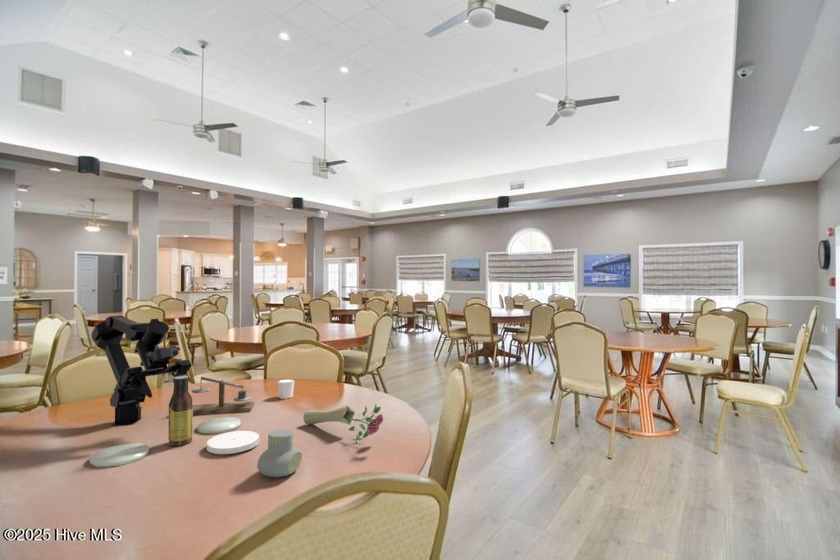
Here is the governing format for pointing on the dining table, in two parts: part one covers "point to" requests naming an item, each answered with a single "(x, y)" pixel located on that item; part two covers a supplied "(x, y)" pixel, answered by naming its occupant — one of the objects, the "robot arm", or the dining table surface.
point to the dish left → (119, 455)
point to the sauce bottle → (180, 413)
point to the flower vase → (345, 419)
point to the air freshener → (279, 455)
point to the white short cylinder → (285, 388)
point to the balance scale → (222, 400)
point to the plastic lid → (232, 442)
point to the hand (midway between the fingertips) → (167, 393)
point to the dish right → (219, 425)
